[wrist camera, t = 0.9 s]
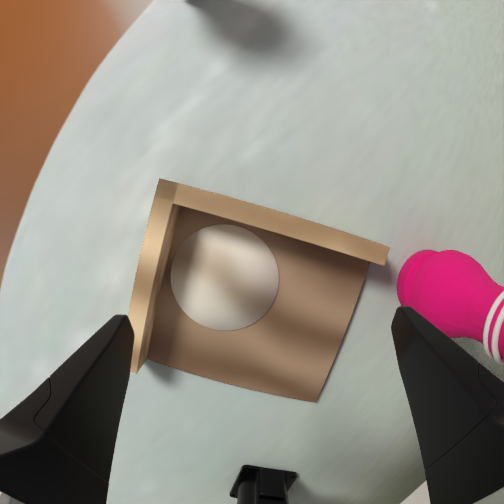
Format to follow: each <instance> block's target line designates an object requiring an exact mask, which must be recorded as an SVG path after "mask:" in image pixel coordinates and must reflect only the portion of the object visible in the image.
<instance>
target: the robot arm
mask: <svg viewBox="0 0 504 504" xmlns="http://www.w3.org/2000/svg"><path fill="white" fill-rule="evenodd" d="M391 330H392V335H393V340H394V345H395V350H396V355H397V360H398V365H399V369H400V373H401V377H402V380H403V383H404V387H405V390H406V394H407V398H408V401H409V405H410V409H411V413H412V416H413V420H414V424H415V428H416V433H417V437H418V441H419V445H420V450H421V454H422V459H423V464H424V469H425V475H426V480H427V485H428V491H429V497H430V503H431V504H504V382H503V381H501V380H500V379H499V378H497V377H496V376H495V375H494V374H492V373H491V372H490V371H489V370H487V369H486V368H485V367H484V366H483V365H482V364H480V363H478V361H477V360H476V359H474V358H473V357H472V356H471V355H470V354H468V353H467V352H466V351H465V350H464V349H463V348H461V347H460V346H459V345H458V344H456V343H455V342H454V341H453V340H452V339H450V338H449V337H448V336H447V335H445V334H444V333H443V332H442V331H441V330H439V329H438V328H437V327H436V326H434V325H433V324H432V323H431V322H429V321H428V320H427V319H426V318H424V317H423V316H422V315H421V314H419V313H418V312H417V311H415V310H414V309H413V308H412V307H410V306H400V307H398V308H397V310H396V313H395V316H394V318H393V321H392V325H391ZM134 338H135V335H134V330H133V328H132V325H131V323H130V320H129V318H128V316H127V315H115V316H113V317H112V318H111V319H110V320H109V321H108V322H107V323H106V324H105V325H104V326H102V327H101V328H100V329H99V330H98V331H97V332H96V333H95V334H94V335H93V336H92V337H91V338H89V339H88V340H87V341H86V342H85V343H84V344H83V345H82V346H81V347H80V348H79V349H78V350H77V351H76V352H75V353H73V354H72V355H71V356H70V357H69V358H68V359H67V360H66V361H65V362H64V363H63V364H62V365H61V366H60V367H59V368H58V369H57V370H56V371H55V372H54V373H53V374H52V375H50V378H47V379H46V380H45V381H44V382H43V383H42V384H41V385H40V386H39V387H38V388H37V389H36V390H35V391H34V392H33V393H31V394H30V395H29V396H28V397H27V398H26V399H24V400H23V401H22V402H21V403H20V404H18V405H17V406H16V407H15V408H14V409H12V410H11V411H10V412H9V413H8V414H6V415H5V416H4V417H3V418H1V419H0V504H106V500H107V493H108V486H109V483H108V482H109V478H110V472H111V466H112V460H113V454H114V448H115V443H116V438H117V432H118V427H119V422H120V417H121V413H122V408H123V403H124V399H125V394H126V390H127V386H128V381H129V376H130V369H131V361H132V353H133V346H134ZM296 477H297V475H296V473H295V472H289V471H281V470H274V469H267V468H261V467H255V466H249V465H243V466H242V467H241V470H240V472H239V474H238V476H237V478H236V481H235V483H234V485H233V487H232V489H231V491H230V496H231V497H234V498H237V504H289V502H288V493H287V492H288V490H289V488H290V487H291V485H292V484H293V482H294V481H295V479H296Z"/></svg>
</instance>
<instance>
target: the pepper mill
mask: <svg viewBox="0 0 504 504" xmlns="http://www.w3.org/2000/svg"><path fill="white" fill-rule="evenodd" d="M397 294H398V298H399V301H400V303H401V305H402V306H410V307H412V308H413V309H414V310H415V311H417V312H418V313H419V314H421V315H422V316H423V317H424V318H426V319H427V320H428V321H429V322H431V323H432V324H433V325H434V326H436V327H437V328H438V329H439V330H441V331H442V332H443V333H444V334H445V335H447V336H448V337H449V338H457V337H468V338H473V339H475V340H477V341H479V342H481V343H482V344H483V346H484V350H485V352H486V354H487V355H488V356H489V357H490V358H491V359H494V360H495V361H496V362H497V363H499V364H500V365H504V287H502V286H500V285H498V284H497V283H496V282H494V281H493V280H492V279H491V278H490V276H489V275H488V274H487V273H486V271H485V270H484V269H483V267H482V266H481V265H480V264H479V263H478V262H477V261H476V260H474V259H473V258H472V257H470V256H469V255H467V254H464V253H462V252H459V251H455V250H446V251H441V252H436V251H432V250H423V251H419V252H417V253H415V254H414V255H412V256H411V257H410V258H409V259H408V260H407V261H406V262H405V264H404V265H403V267H402V269H401V271H400V273H399V277H398V282H397Z"/></svg>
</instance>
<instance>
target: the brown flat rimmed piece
mask: <svg viewBox="0 0 504 504" xmlns="http://www.w3.org/2000/svg"><path fill="white" fill-rule="evenodd" d="M389 249H390V247H388V246H385V245H382V244H379V243H376V242H373V241H370V240H367V239H364V238H361V237H358V236H355V235H352V234H349V233H346V232H343V231H340V230H337V229H334V228H331V227H328V226H324V225H321V224H318V223H315V222H312V221H309V220H305V219H302V218H299V217H296V216H292V215H289V214H286V213H282V212H279V211H276V210H272V209H269V208H266V207H262V206H259V205H255V204H252V203H248V202H245V201H242V200H238V199H234V198H231V197H227V196H224V195H220V194H217V193H213V192H209V191H206V190H202V189H198V188H194V187H191V186H187V185H183V184H179V183H175V182H172V181H168V180H164V179H160V178H159V182H158V185H157V189H156V193H155V196H154V200H153V204H152V208H151V211H150V215H149V219H148V223H147V227H146V231H145V236H144V240H143V244H142V249H141V253H140V258H139V262H138V267H137V272H136V277H135V282H134V287H133V292H132V297H131V303H130V308H129V314H128V318H129V320H130V323H131V325H132V328H133V330H134V335H135V338H134V346H133V353H132V361H131V369H130V372H133V373H136V374H137V372H138V371H139V369H140V368H141V366H142V365H143V363H144V362H145V361H146V359H149V360H152V361H154V362H157V363H160V364H163V365H166V366H170V367H173V368H176V369H179V370H182V371H185V372H189V373H192V374H195V375H199V376H202V377H206V378H209V379H213V380H216V381H220V382H224V383H228V384H232V385H235V386H239V387H244V388H248V389H252V390H256V391H261V392H265V393H270V394H274V395H279V396H284V397H289V398H294V399H299V400H305V401H310V402H316V399H317V397H318V395H319V393H320V391H321V389H322V386H323V384H324V382H325V380H326V377H327V375H328V373H329V370H330V368H331V366H332V363H333V361H334V359H335V356H336V354H337V351H338V349H339V346H340V344H341V341H342V339H343V336H344V334H345V331H346V329H347V326H348V323H349V321H350V318H351V315H352V313H353V310H354V307H355V305H356V302H357V299H358V296H359V293H360V290H361V288H362V285H363V282H364V279H365V276H366V273H367V270H368V267H369V263H370V262H374V263H377V264H380V265H383V266H384V265H385V262H386V258H387V255H388V252H389Z"/></svg>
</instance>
